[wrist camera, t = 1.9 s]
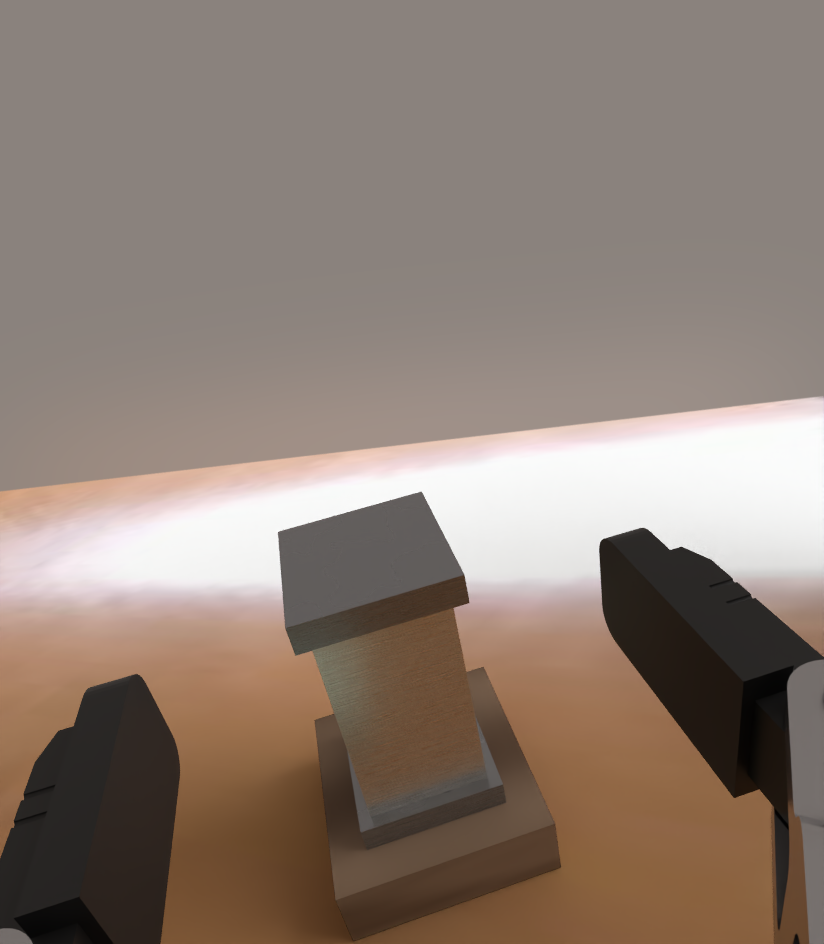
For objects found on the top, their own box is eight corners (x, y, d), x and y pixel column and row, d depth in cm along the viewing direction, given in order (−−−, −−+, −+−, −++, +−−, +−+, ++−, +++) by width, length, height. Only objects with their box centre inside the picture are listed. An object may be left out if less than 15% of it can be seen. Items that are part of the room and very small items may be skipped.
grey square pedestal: (347, 734, 31) (278, 532, 26) (464, 696, 32) (421, 491, 26) (367, 850, 26) (285, 628, 21) (506, 802, 27) (464, 574, 21)
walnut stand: (329, 758, 34) (314, 719, 33) (490, 706, 35) (483, 666, 34) (353, 941, 26) (335, 900, 25) (560, 867, 27) (554, 823, 26)
